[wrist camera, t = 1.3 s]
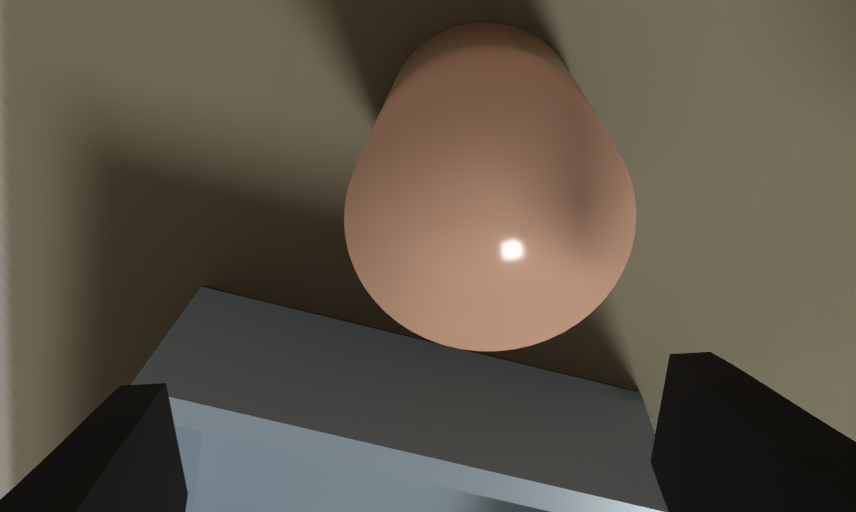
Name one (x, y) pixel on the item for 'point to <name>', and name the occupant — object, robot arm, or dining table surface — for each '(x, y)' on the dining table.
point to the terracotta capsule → (488, 195)
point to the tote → (386, 421)
